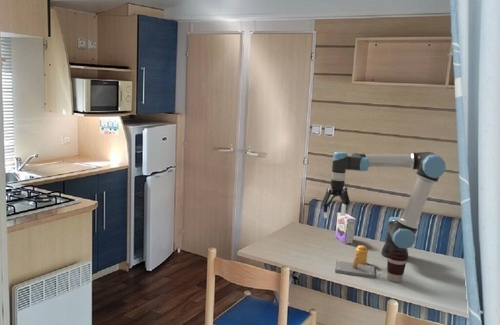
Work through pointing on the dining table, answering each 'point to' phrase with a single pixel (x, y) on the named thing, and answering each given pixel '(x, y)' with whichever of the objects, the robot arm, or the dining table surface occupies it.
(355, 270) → the plate
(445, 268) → the dining table surface
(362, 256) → the wire nut
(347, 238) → the candy box
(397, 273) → the coffee cup
